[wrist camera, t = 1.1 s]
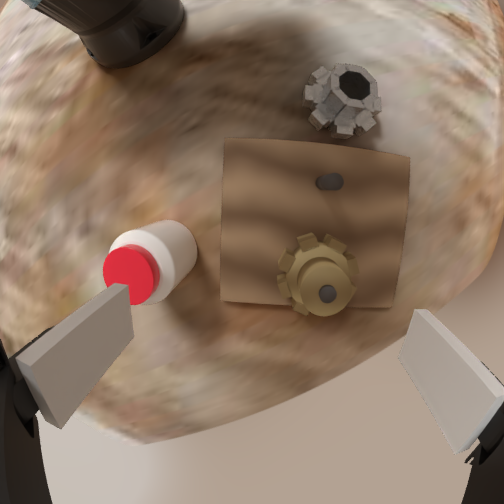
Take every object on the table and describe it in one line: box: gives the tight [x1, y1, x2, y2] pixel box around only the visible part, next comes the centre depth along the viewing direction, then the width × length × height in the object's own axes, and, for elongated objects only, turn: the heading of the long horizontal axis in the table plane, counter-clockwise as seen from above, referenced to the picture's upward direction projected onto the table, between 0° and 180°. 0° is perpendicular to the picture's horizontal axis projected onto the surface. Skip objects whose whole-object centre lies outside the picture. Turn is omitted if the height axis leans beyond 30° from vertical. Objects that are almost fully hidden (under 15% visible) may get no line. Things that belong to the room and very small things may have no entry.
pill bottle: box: [103, 220, 197, 305], centre depth 28 cm, size 8×8×11 cm
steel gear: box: [302, 63, 381, 140], centre depth 24 cm, size 9×9×7 cm
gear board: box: [220, 138, 410, 317], centre depth 27 cm, size 19×22×9 cm
